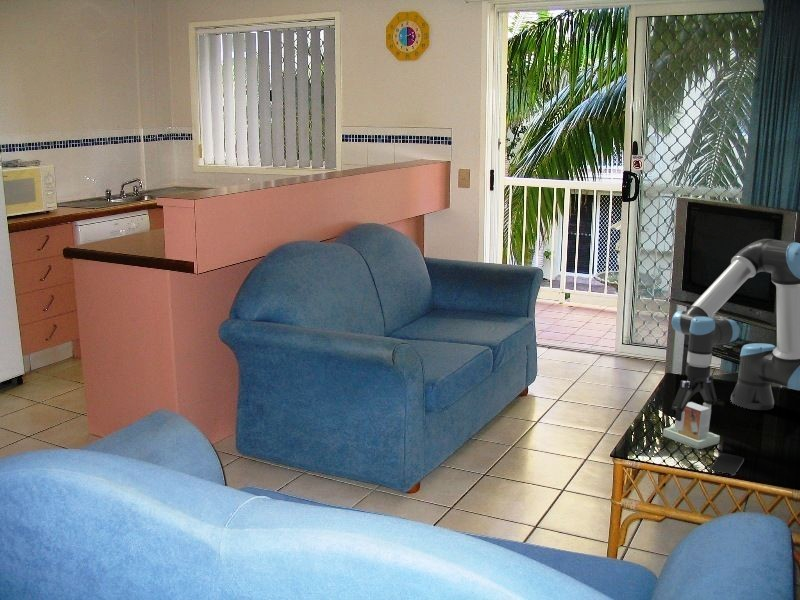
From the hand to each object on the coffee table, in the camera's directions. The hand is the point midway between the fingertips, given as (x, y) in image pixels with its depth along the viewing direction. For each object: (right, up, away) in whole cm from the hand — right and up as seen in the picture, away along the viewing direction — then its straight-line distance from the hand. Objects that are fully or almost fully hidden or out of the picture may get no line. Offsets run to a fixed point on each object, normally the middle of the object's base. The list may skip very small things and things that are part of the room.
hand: (692, 426), depth 287 cm
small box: (+1, -4, +1) cm, 4 cm away
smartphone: (+4, -10, -19) cm, 22 cm away
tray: (0, -5, +1) cm, 5 cm away
